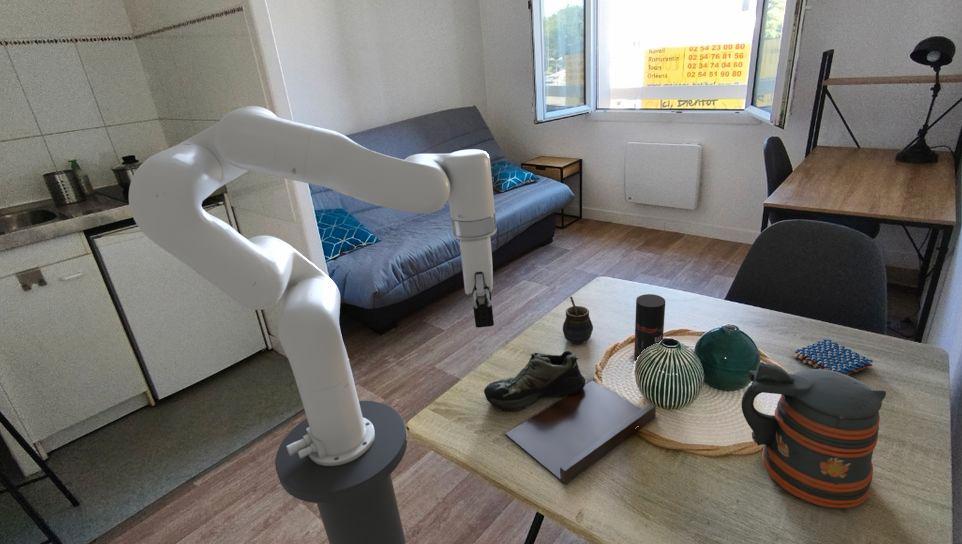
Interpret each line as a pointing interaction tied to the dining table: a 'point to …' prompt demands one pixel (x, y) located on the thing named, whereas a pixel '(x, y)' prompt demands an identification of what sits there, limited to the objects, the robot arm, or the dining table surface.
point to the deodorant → (648, 322)
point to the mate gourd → (577, 324)
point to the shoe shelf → (580, 430)
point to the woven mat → (833, 357)
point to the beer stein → (816, 433)
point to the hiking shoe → (537, 381)
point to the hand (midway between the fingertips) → (484, 312)
